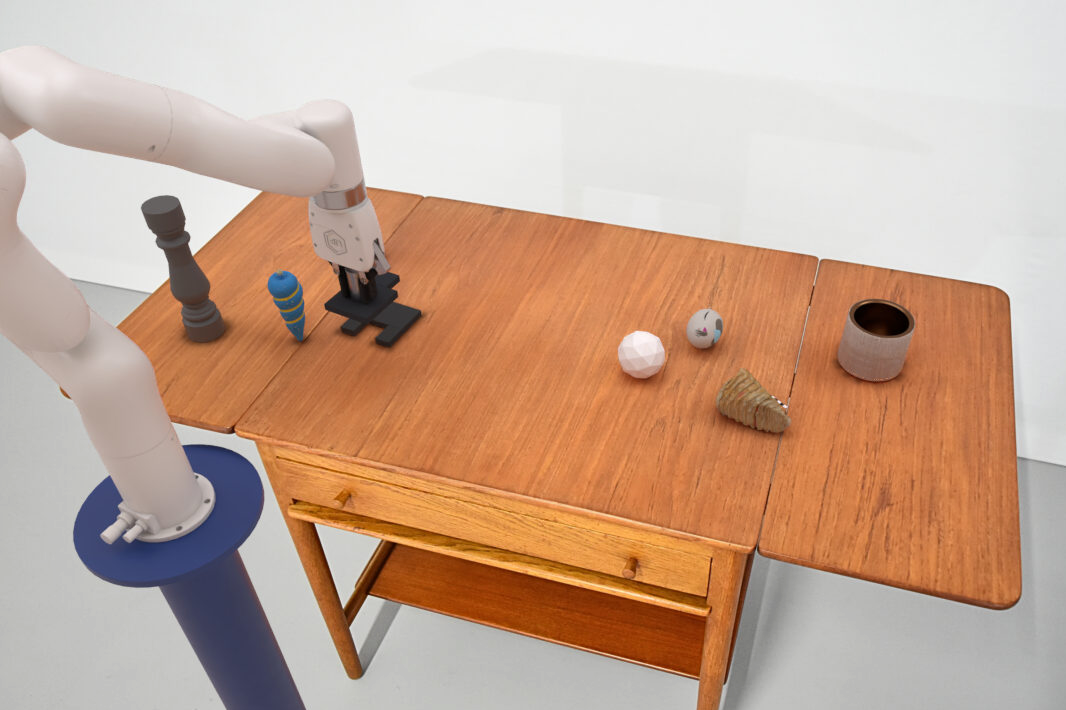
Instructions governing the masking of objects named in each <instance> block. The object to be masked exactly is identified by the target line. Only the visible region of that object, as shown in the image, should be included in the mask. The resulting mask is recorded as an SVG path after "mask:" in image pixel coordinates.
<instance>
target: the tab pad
mask: <svg viewBox="0 0 1066 710" xmlns="http://www.w3.org/2000/svg"><path fill="white" fill-rule="evenodd" d="M345 272H346V277H347V282H348V286H349V291H350V296H349V297H347V298H345V297H343V296H342V293H341V289H340V290H339V291H337V292H336V293H335V294H334V295H332V297H330V298H329V299H328V300H326V302H324V303H323V306H324V310H325V311H327V312H330V313H333V314H334V315H335V314H336V315H338V316H341V317H344V318H346V319H347V318H348V319H349V318H350V319H353V320H355V321H358V322H361V323H364V324H367V325H370V324H369V323H370V322H371V321H372V320H373V319H374V318H375V317H377V316H378V315H379V314H380V313H381V312H382V311H383V310H384V309H385V308H387V307H388V306H389V305H390V304H391V303H392V302H395V301H396V300H397V299H398V298H399V292H398V290H396V289H393V288H395V287H396V286H397V285H398V284H399V283H400V282H401V279H400V274H397V273H393V272H391V271H388V272H387V273H386V274H382V275H377V276H375V281H376V286H377V291H378V295H377V296H376V297H375V298H374V299H373V300H371V301H370V302H369V303H368V304H367V305H365V304H363V303H362V300H361V295H360V291H359V286H358V283H359V282H360V281H361V280H360V277H359V273H358V271H357V270H354V269H351V268H348V267H345ZM367 325H366V326H367Z"/></svg>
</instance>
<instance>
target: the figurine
mask: <svg viewBox="0 0 1066 710" xmlns="http://www.w3.org/2000/svg"><path fill="white" fill-rule="evenodd" d="M685 330H686V332H685V333H686V337H687V340H688V342H689V344H691V345H692V346H693V347H695V348H697V349H708V348H711V347H712V346H714V345H716V343H717V342H718V341H720V338H721V336H722V334H723V332H724V322H723V318H722V317H721V315H720V313H718V312H717V311H716V310H714V309H711V306H709V307H708V308H701V309H699V310H697V311H696V312H695V313H694V314H693V315H691V316H690V318H689V320H688V322H687V325H686V329H685Z"/></svg>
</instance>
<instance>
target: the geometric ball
mask: <svg viewBox="0 0 1066 710" xmlns="http://www.w3.org/2000/svg"><path fill="white" fill-rule="evenodd" d="M617 356H618V362H619V365H620V367H621V369H622V371H623V372H624V373H626V374H628V375H629V376H631V377H633V378H635V379H648V378H650V377H652V376H654V375H656V374H658V373H659V371H660V370H661V368H662V367H663V365H664V364H665V362H666V351H665V348H664V345H663V343H662V341H661V338H660V337H658V336H657V335H655V334H653V333H651V332H649V331H645V330H644V331H643V330H634V331H633V332H631V333H629V334H627V335H625V336H624V337H623V339H622V340H621V342H620V344H619V346H618V347H617Z"/></svg>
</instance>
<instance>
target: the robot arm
mask: <svg viewBox="0 0 1066 710" xmlns="http://www.w3.org/2000/svg"><path fill="white" fill-rule="evenodd" d="M32 129H33V130H35V131H37V132H38V133H39V134H41V135H42V136H44V137H46V138H47V139H49V140H51V141H53V142H55V143H58V144H61V145H64V146H67V147H72V148H77V149H81V150H86V151H91V152H96V153H100V154H101V153H102V154H107V155H112V156H119V157H124V158H129V159H133V160H138V161H139V160H140V161H145V162H149V163H155V164H160V165H165V166H169V167H174V168H178V169H181V170H183V171H186V172H189V173H192V174H196V175H200V176H204V177H207V178H212V179H216V180H220V181H224V182H227V183H231V184H235V185H238V186H241V187H244V188H248V189H253V190H256V191H261V192H265V193H269V194H275V195H276V194H277V195H280V196H281V195H282V196H288V197H293V198H299V199H301V198H303V199H305V198H308V208H307V209H308V211H307V212H308V223H309V231H310V237H311V242H312V246H313V251H314V253H315V254H316V257H318V258H319V259H322V260H324V261H326V262H327V263H328V264H329V265H330V266H331V268H332V272H333V274H335V276H337V279H338V283H339V288H340V290H341V293H342V296H343V297H345V298H347V297H349V296H350V291H349V286H348V282H347V277H346V272H345V267H348V268H351V269H354V270H357V271H358V273H359V277H360V280H361V281H360V282H359V283H358V286H359V291H360V295H361V300H362V303H363V304H365V305H367V304H368V303H369V302H370V301H371V300H373V299H374V298H375V297H376V296H377V295H378V291H377V286H376V281H375V276H377V275H382V274H386V273H387V272H390V271H391V270H392V266H391V264H390V263H389V261H388V259H387V258H386V252H385V251H386V250H385V243H384V238H383V233H382V229H381V225H380V222H379V219H378V216H377V213H376V210H375V207H374V205H373V202H372V200H371V199H370V198H369V197H368V192H367V191H368V190H367V186H366V180H365V175H364V169H363V164H362V158H361V153H360V148H359V141H358V136H357V132H356V125H355V121H354V116H353V112H352V111H351V109H350V108H349V106H348V105H347V104H346V103H344V102H342V101H340V100H336V99H329V98H327V99H326V98H324V99H316V100H311V101H309V102H306V103H304V104H302V105H301V106H300V107H299V108H296V109H291V110H287V111H282V112H275V113H270V114H269V113H268V114H263V115H259V116H255V117H253V118H251V119H248V120H246V119H245V118H242V117H239V116H237V115H234V114H232V113H230V112H227V110H226V111H225V110H224V109H221V108H219V107H218V106H216V105H213V104H212V103H210V102H207V101H206V100H203V99H201V98H199V97H196V96H194V95H191V94H188V93H186V92H183V91H180V90H176V89H172V88H168V87H165V86H161V85H157V84H152V83H149V82H145V81H142V80H137V79H133V78H129V77H126V76H122V75H120V74H115V73H112V72H108V71H106V70H105V71H104V70H101V69H97V68H92V67H90V66H86V65H83V64H80V63H78V62H76V61H74V60H72V59H71V58H69V57H67V56H66V55H64V54H62V53H60V52H58V51H57V50H55V49H52V48H49V47H48V46H44V45H38V44H26V45H20V46H17V47H13V48H10V49H7V50H4V51H1V52H0V334H1V335H2V336H3V337H5V338H6V339H7V341H9V342H11V344H13V345H14V346H15V347H16V348H17V349H18V350H20V351H21V352H22V353H23V354H24V355H25V356H27V357H28V359H30V360H31V361H32V362H33V363H34V364H35V365H36V366H38V368H40V369H41V370H42V371H43V372H44V373H45V374H46V375H47V376H49V377H50V378H51V380H52V381H53V382H55V384H56V385H57V386H59V387H60V388H61V389H62V390H63V391H64V392H65V393H66V395H68V397H69V398H70V399H71V401H73V403H74V405H75V407H76V408H77V410H78V412H79V414H80V417H81V420H82V421H81V422H82V424H83V427H84V429H85V431H86V433H87V435H88V438H89V440H90V442H91V444H92V445H93V447H94V449H95V450H96V452H97V454H98V455H99V458H100V459H101V461H102V464H103V465H104V466H105V469H106V470H107V473H108V474H109V475H110V476H111V478H112V480H113V482H114V484H115V485H116V487H117V489H118V491H119V493H120V495H121V497H122V499H123V500H124V501H123V502H121V503H120V504H119V505H118V507H119V509H120V511H121V514H120V515H118V516H117V521H116V522H115V523H114V524H113V525H111V526H109V527H108V528H107V529H106V530H105V531H104V532H103V533H102V534H100V537H101V538H102V539H103V540H104V541H105V542H106V543H108V544H112V543H113V542H114V541H115V540H116V539H117V538H119V537H120V536H121V535H122V533H123V532H124V531H125V530H126V531H127V533H126V534H125V535H123V536H122V537H123V539H124V540H125V541H126V542H128V543H131V542H132V541H133V540H134V539H138V540H140V541H144V542H165V541H170V540H174V539H177V538H179V537H182V536H184V535H186V534H188V533H190V532H192V531H193V530H195V529H196V528H197V527H199V526H200V525H201V524H202V523H203V522H204V521H205V520H206V519H207V518H208V517H209V515H210V514H211V512H212V510H213V508H214V505H215V501H216V496H215V491H214V488H213V486H212V484H211V483H210V481H209V480H208V479H207V478H205V477H204V476H202V475H200V474H197V473H194V472H193V470H192V468H191V465H190V463H189V461H188V459H187V456H186V454H185V452H184V450H183V447H182V445H183V444H182V443H181V440H180V438H179V436H178V434H177V431H176V429H175V427H174V424H173V422H172V420H171V418H170V416H169V413H168V411H167V409H166V407H165V403H164V401H163V399H162V396H161V394H160V389H159V386H158V382H157V375H156V372H155V368H154V366H153V364H152V362H151V360H150V359H149V357H148V356H147V354H146V353H145V352H144V351H143V350H142V348H141V347H140V346H139V345H138V344H136V343H135V342H134V341H133V340H132V339H131V338H130V337H129V336H127V334H125V333H123V331H121V330H120V329H119V328H118V327H115V325H113V324H112V323H110V322H109V321H108V320H107V319H105V318H104V317H103V316H102V315H101V314H99V313H98V312H97V311H96V310H94V309H93V308H92V307H91V306H90V305H89V303H88V302H87V301H86V298H85V297H84V294H83V293H82V291H81V290H80V289H79V287H78V286H77V285H76V284H75V282H73V280H71V278H70V277H69V276H67V274H65V273H64V272H63V271H61V269H59V268H58V267H57V266H56V265H54V264H53V263H52V262H51V261H50V260H48V258H47V257H46V256H45V255H44V254H42V253H43V252H41V251H40V250H39V249H38V248H37V247H36V246H35V245H34V243H33V242H32V241H31V240H30V238H29V237H28V236H27V235H26V234H25V233H24V232H23V231H22V230H21V228H20V227H19V225H18V211H19V207H20V204H21V201H22V198H23V196H24V192H25V189H26V183H27V171H26V165H25V161H24V159H23V157H22V154H21V152H20V151H19V149H18V148H17V146H16V145H15V144H14V143H13V142H12V141H13V140H15V139H16V138H18V137H20V136H22V135H24V134H25V133H27V132H28V131H30V130H32Z"/></svg>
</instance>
